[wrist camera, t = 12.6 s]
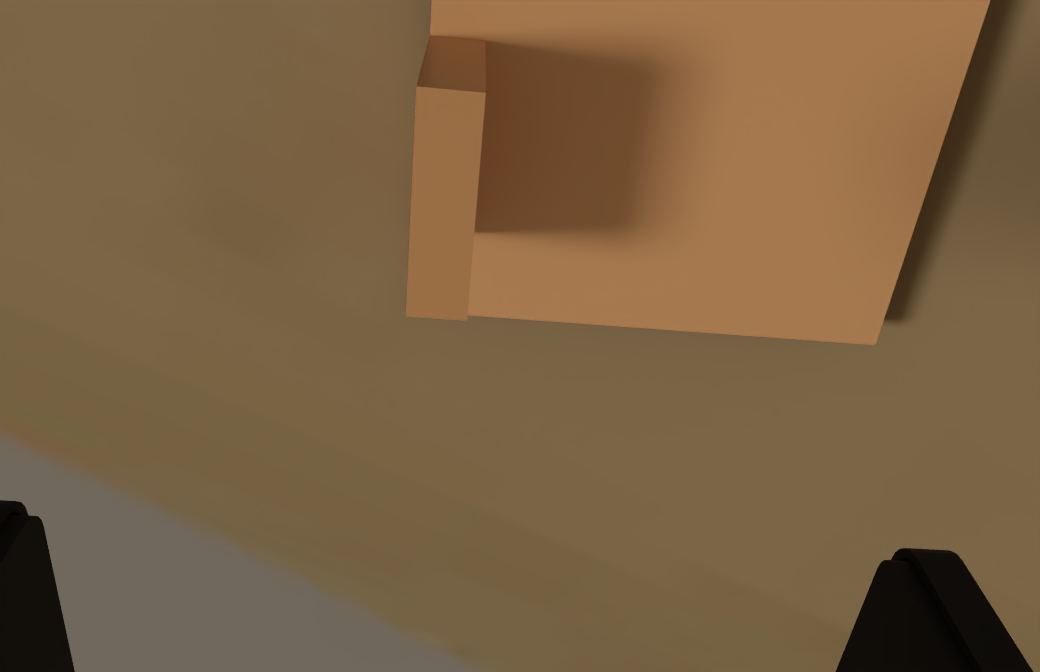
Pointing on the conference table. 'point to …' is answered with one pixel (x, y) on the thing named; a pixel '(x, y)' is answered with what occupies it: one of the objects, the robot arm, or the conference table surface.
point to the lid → (679, 160)
